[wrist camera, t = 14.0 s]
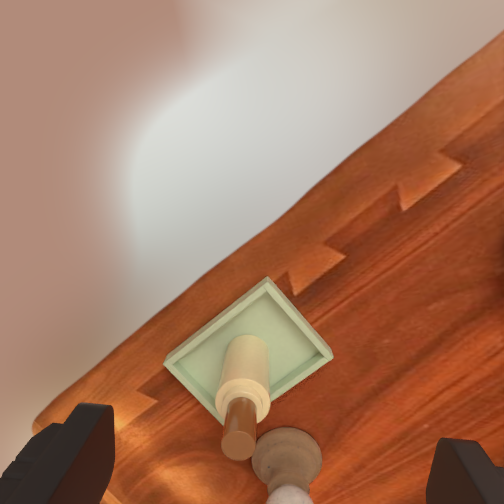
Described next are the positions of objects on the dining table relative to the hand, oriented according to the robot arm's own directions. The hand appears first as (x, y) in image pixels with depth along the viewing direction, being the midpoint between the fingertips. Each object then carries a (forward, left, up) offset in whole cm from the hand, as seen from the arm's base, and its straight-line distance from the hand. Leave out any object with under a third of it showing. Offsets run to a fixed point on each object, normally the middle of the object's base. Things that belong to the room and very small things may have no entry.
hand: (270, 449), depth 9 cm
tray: (+16, -1, -33) cm, 36 cm away
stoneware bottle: (+16, -1, -32) cm, 36 cm away
